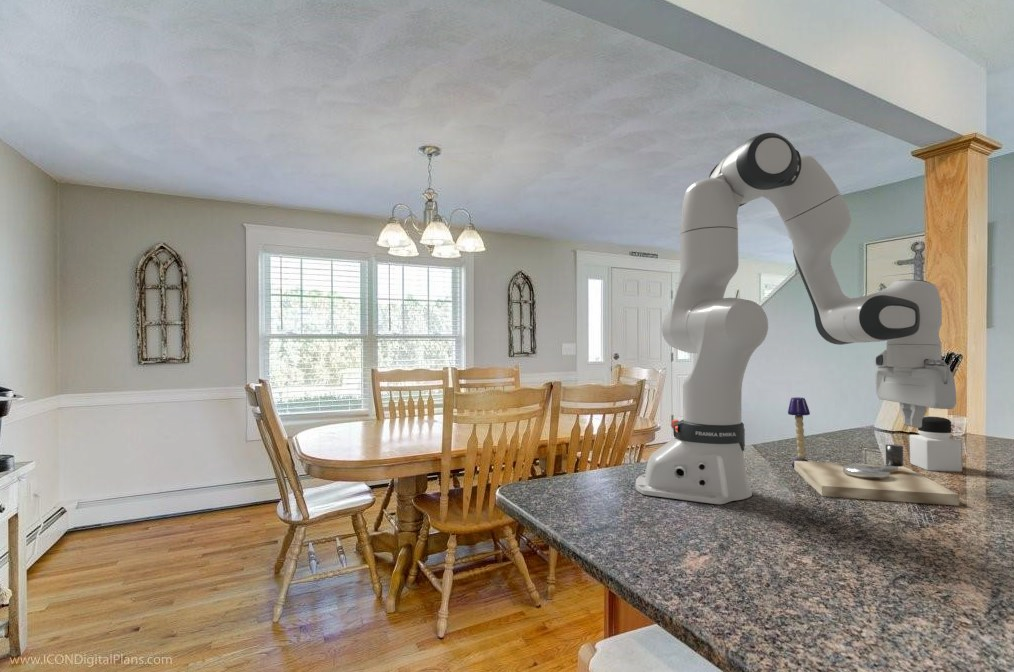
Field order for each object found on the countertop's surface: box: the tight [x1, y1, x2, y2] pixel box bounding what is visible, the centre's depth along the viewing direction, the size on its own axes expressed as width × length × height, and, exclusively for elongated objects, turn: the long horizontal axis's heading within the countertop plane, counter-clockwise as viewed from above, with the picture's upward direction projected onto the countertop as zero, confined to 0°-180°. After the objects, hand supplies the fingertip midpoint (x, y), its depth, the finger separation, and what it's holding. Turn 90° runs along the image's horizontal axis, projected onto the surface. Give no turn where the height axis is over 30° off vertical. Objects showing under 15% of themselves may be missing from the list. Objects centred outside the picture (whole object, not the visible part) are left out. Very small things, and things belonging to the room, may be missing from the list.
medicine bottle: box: [909, 415, 963, 473], centre depth 120 cm, size 7×7×12 cm
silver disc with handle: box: [843, 444, 904, 479], centre depth 107 cm, size 14×8×5 cm, turn 110°
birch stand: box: [793, 460, 960, 507], centre depth 106 cm, size 22×22×2 cm
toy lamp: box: [787, 397, 811, 468], centre depth 122 cm, size 5×5×17 cm
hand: (912, 426), depth 103 cm, fingers closed
